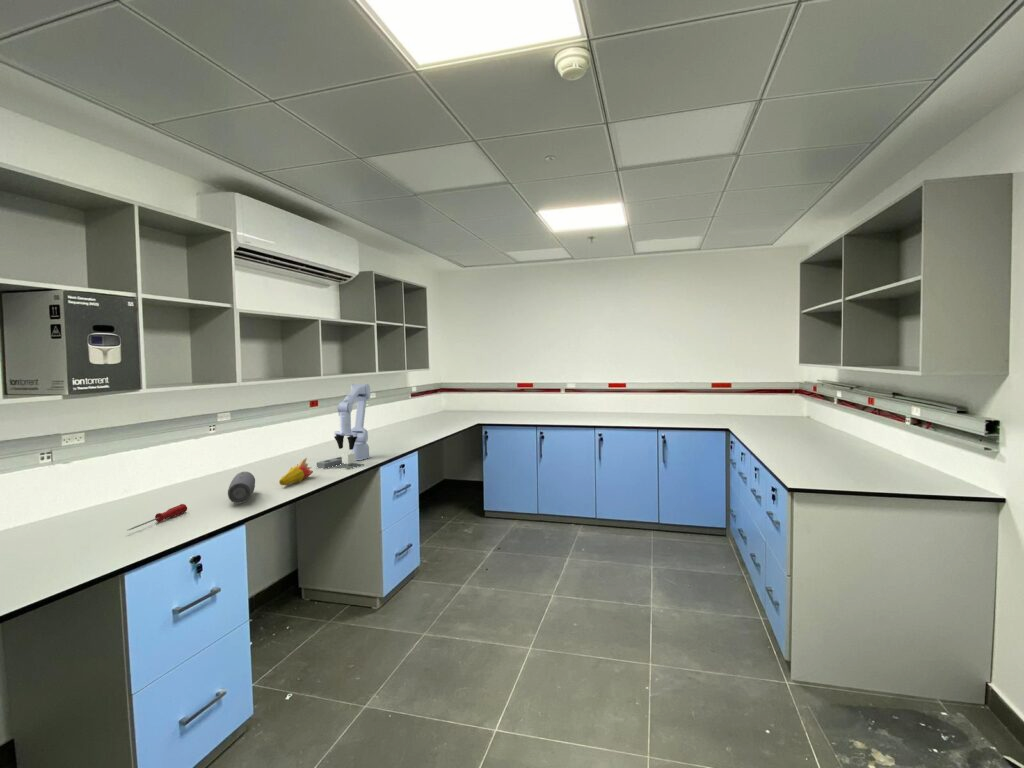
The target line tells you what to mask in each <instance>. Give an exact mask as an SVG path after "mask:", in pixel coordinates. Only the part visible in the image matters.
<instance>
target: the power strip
mask: <svg viewBox="0 0 1024 768" xmlns="http://www.w3.org/2000/svg"><path fill="white" fill-rule="evenodd" d="M340 464H344V463H342V455H341V456H337V457H334V458H329V459H326V460H322V461H317V462H316V468H317V467H318V468H317V469H321V468H327V469H329V468H328V467H331V468H333V467H332V466H336V465H340Z"/></svg>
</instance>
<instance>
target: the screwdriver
mask: <svg viewBox="0 0 1024 768" xmlns="http://www.w3.org/2000/svg"><path fill="white" fill-rule="evenodd" d="M187 510H188V506H187V504H185V503H181V504H179V505H176V506H173V507H171V508H168V509H167V510H165V511H164V512H158V513H156V514H155V516H154V518H153V519H151V520H148V521H146V522H143V523H140V524H137V525H136V526H133V527H131V528H128V529H127V531H131V530H134V529H136V528H139V527H142V526H144V525H147V524H148V523H149V524H150V523H151V522H154V521H156V522H157V523H161V522H163V521H164V520H165V519H168V518H174V517H177V516H178V515H181V514H184V513H186V512H187Z"/></svg>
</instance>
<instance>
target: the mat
mask: <svg viewBox="0 0 1024 768" xmlns="http://www.w3.org/2000/svg"><path fill="white" fill-rule="evenodd" d="M361 465H363V466H364V464H363V463H355V462H353V463H351V465H349V466H346V464H341V465H337V466H333V467H337V468H336V469H341V468H347V469H346V470H351V469H350V468H352V469H354V468H353V467H356V468H358V467H357V466H359V467H362V466H361ZM333 467H332V468H333Z"/></svg>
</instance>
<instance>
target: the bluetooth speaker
mask: <svg viewBox="0 0 1024 768" xmlns="http://www.w3.org/2000/svg"><path fill="white" fill-rule="evenodd" d="M255 487H256V479H255V475H254V474H252V473H251V472H249V471H241V472H238V473H237V474H236V475H235V476H234V477H233V478H232V479H231V481H230V484H229V486H228V489H227V497H228V500H230V502H232V503H233V504H242V503H243V504H244V503H245V502H247V501H248V500H249V499H251V497H252V494H253V493H254V491H255Z"/></svg>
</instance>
